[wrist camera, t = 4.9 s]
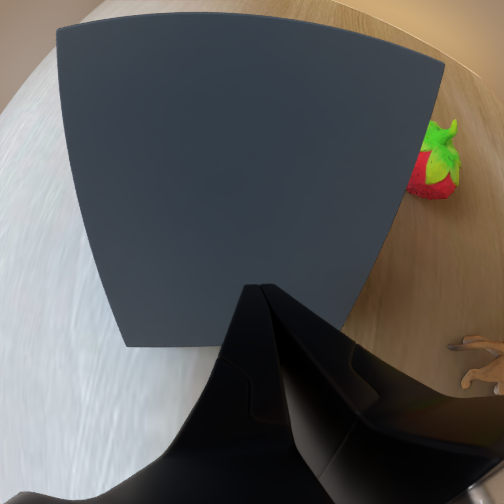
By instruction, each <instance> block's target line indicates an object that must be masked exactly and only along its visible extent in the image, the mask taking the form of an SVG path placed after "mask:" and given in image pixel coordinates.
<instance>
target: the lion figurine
mask: <svg viewBox="0 0 504 504" xmlns="http://www.w3.org/2000/svg"><path fill="white" fill-rule="evenodd" d="M448 348H449V349H450V350H453V351H460V350H465V349H473V348H484V349H486V350H487V351H488V352H490V353H491V354H493V355H494V356H495V357H496V359H494V360H493V361H491V362H490V363H488V364H487V365H486V366H484V367H483V368H480V369H474V368H471V369H470V370H469V372H468V373H467V374H466V375H465V376H464V377H463V379H462V381H461V387H462V389H467V388H468V387H470V385H471V380H472V379H479V380H483V381H486V382H498V384H497V385H495V388H494V393H495V394H496V395H499V394H500V395H504V342H498V341H492V340H487V339H485V338H483V337H482V336H480V335H474V336H465V337H464V339H463V344H462V345H456V344H448Z"/></svg>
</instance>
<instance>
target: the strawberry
mask: <svg viewBox="0 0 504 504" xmlns="http://www.w3.org/2000/svg"><path fill="white" fill-rule="evenodd" d="M456 133H457V121H456V120H453V122H452V125H451V127H450V129H446V130H445V129H442V128H441V127H440V126H439V125H438V124H437V123H436V122H434V121H431V120H430V122H429V125H428V128H427V132H426V135H425V138H424V141H423V144H422V147H421V150H420V153H419V156H418V158H417V161H416V164H415V167H414V170H413V172H412V175H411V178H410V180H409V183H408V186H407V188H406V190H408V191H409V193H412V194H416V195H418V196H419V197H422V198H428V199H429V200H431V199H435V200H437V199H447V198H448V196H449V195H450V194H451V193H453V192H454V189H455V188H456V187H457V186H458V185H459V169H461V162H460V158H459V154H458V152H457V151H456V149H455V148H454V146H453V144H452V143H453V141H452V139H451V138H453V137H454V136H455V135H456Z"/></svg>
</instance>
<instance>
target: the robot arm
mask: <svg viewBox="0 0 504 504" xmlns="http://www.w3.org/2000/svg"><path fill="white" fill-rule="evenodd" d="M4 504H504V395H498V396H487V397H474V398H455V397H450V396H446V395H443V394H441V393H439V392H437V391H435V390H433V389H431V388H429V387H428V386H426V385H424V384H422V383H420V382H419V381H417V380H415V379H413V378H411V377H410V376H408V375H406V374H404V373H403V372H401V371H399V370H397V369H396V368H394V367H392V366H391V365H389V364H387V363H386V362H384V361H382V360H381V359H379V358H378V357H376V356H375V355H373V354H372V353H370V352H369V351H367V350H366V349H365V348H363V347H362V346H360V345H359V344H356V342H355V341H353V340H352V339H350V338H349V337H348V336H346V335H345V334H343V333H342V332H341V331H339V330H338V329H336V328H335V327H334V326H332V325H331V324H329V323H328V322H327V321H325V320H324V319H322V318H321V317H320V316H318V315H317V314H316V313H314V312H313V311H311V310H310V309H309V308H307V307H306V306H304V305H303V304H302V303H300V302H299V301H298V300H296V299H295V298H293V297H292V296H291V295H289V294H288V293H286V292H285V291H284V290H282V289H281V288H280V287H278V286H277V285H275V284H273V283H269V284H260V285H258V284H246V285H244V286H243V289H242V292H241V294H240V297H239V300H238V303H237V305H236V308H235V311H234V314H233V316H232V319H231V322H230V325H229V327H228V330H227V333H226V336H225V338H224V341H223V344H222V346H221V349H220V352H219V355H218V358H217V360H216V362H215V365H214V368H213V370H212V372H211V375H210V377H209V380H208V382H207V384H206V386H205V388H204V390H203V392H202V393H201V395H200V397H199V399H198V401H197V402H196V404H195V406H194V407H193V409H192V411H191V412H190V414H189V416H188V417H187V419H186V421H185V422H184V424H183V426H182V427H181V429H180V431H179V432H178V434H177V435H176V437H175V439H174V440H173V442H172V443H171V444H170V446H169V447H168V448H167V450H166V451H165V452H164V453H163V454H162V455H161V456H160V457H159V458H157V459H156V460H155V461H153V462H152V463H150V464H149V465H147V466H146V467H145V468H143V469H142V470H140V471H139V472H137V473H136V474H134V475H132V476H131V477H129V478H128V479H126V480H125V481H123V482H122V483H120V484H118V485H117V486H115V487H114V488H112V489H110V490H109V491H107V492H106V493H104V494H101V495H99V496H97V497H94V498H90V499H86V500H65V499H60V498H55V497H51V496H47V495H43V494H39V493H35V492H20V493H18V494H17V495H15V496H14V497H13V498H11V499H10V500H8V501H7V502H5V503H4Z"/></svg>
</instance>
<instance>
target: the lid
mask: <svg viewBox="0 0 504 504" xmlns="http://www.w3.org/2000/svg"><path fill="white" fill-rule="evenodd" d="M56 46H57V67H58V80H59V91H60V101H61V109H62V117H63V124H64V131H65V137H66V144H67V149H68V155H69V160H70V166H71V171H72V175H73V180H74V185H75V189H76V194H77V198H78V202H79V206H80V210H81V214H82V218H83V222H84V226H85V229H86V233H87V236H88V240H89V243H90V247H91V250H92V253H93V257H94V260H95V263H96V266H97V269H98V272H99V275H100V278H101V281H102V284H103V287H104V290H105V293H106V296H107V299H108V301H109V304H110V307H111V309H112V312H113V315H114V317H115V320H116V322H117V325H118V327H119V330H120V332H121V335H122V337H123V340H124V342H125V344H126V347H200V346H222V344H223V341H224V338H225V336H226V333H227V330H228V327H229V325H230V322H231V319H232V316H233V314H234V311H235V308H236V305H237V303H238V300H239V297H240V294H241V292H242V289H243V286H244V285H246V284H258V285H260V284H269V283H273V284H275V285H277V286H278V287H280V288H281V289H282V290H284V291H285V292H286V293H288V294H289V295H291V296H292V297H293V298H295V299H296V300H298V301H299V302H300V303H302V304H303V305H304V306H306V307H307V308H309V309H310V310H311V311H313V312H314V313H316V314H317V315H318V316H320V317H321V318H322V319H324V320H325V321H327V322H328V323H329V324H331V325H332V326H334V327H335V328H336V329H338V330H339V331H340V330H341V328H342V327H343V325H344V323H345V321H346V319H347V317H348V315H349V313H350V312H351V310H352V308H353V306H354V304H355V302H356V300H357V298H358V296H359V294H360V292H361V290H362V288H363V286H364V284H365V282H366V280H367V278H368V276H369V274H370V272H371V270H372V267H373V265H374V263H375V261H376V259H377V257H378V255H379V252H380V250H381V248H382V246H383V244H384V241H385V239H386V237H387V234H388V232H389V230H390V228H391V225H392V223H393V220H394V218H395V216H396V213H397V211H398V208H399V206H400V203H401V201H402V198H403V196H404V193H405V191H406V188H407V186H408V183H409V180H410V178H411V175H412V172H413V170H414V167H415V164H416V161H417V158H418V156H419V153H420V150H421V147H422V144H423V141H424V138H425V135H426V132H427V128H428V125H429V122H430V119H431V116H432V112H433V109H434V105H435V102H436V98H437V95H438V91H439V88H440V84H441V80H442V76H443V72H444V68H445V64H444V63H443V62H441V61H439V60H436V59H434V58H432V57H429V56H427V55H424V54H422V53H419V52H416V51H414V50H411V49H408V48H405V47H402V46H399V45H397V44H394V43H390V42H387V41H384V40H381V39H378V38H374V37H371V36H367V35H364V34H360V33H356V32H352V31H348V30H344V29H340V28H336V27H331V26H326V25H322V24H317V23H311V22H306V21H300V20H294V19H287V18H280V17H272V16H263V15H252V14H239V13H220V12H175V13H156V14H143V15H133V16H124V17H116V18H109V19H103V20H97V21H91V22H86V23H81V24H76V25H71V26H67V27H63V28H59V29H57V31H56Z"/></svg>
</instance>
